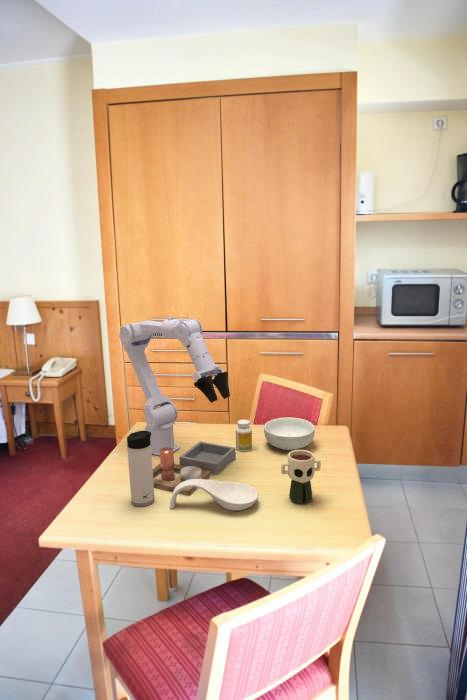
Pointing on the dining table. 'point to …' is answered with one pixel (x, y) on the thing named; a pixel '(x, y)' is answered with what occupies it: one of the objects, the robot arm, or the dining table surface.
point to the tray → (208, 457)
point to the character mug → (300, 474)
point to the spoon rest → (221, 493)
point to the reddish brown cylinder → (167, 464)
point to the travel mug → (140, 468)
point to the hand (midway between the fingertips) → (220, 399)
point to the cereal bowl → (289, 433)
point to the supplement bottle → (243, 436)
